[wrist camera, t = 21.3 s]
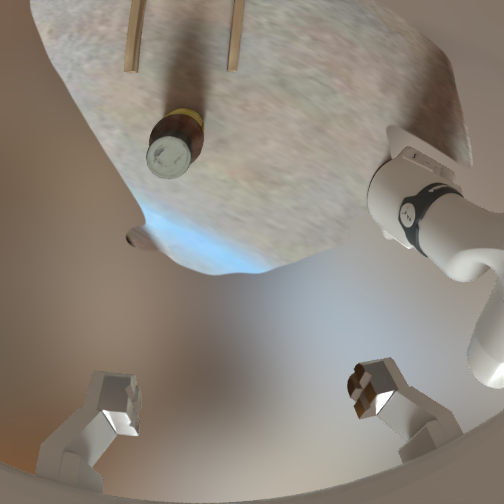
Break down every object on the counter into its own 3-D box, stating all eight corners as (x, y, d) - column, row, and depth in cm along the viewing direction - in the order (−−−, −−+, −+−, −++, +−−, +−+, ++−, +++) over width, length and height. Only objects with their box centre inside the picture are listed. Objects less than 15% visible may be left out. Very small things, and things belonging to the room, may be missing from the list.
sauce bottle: (157, 116, 39) (119, 133, 22) (197, 101, 39) (187, 105, 22) (172, 155, 42) (147, 198, 25) (210, 141, 42) (211, 174, 25)
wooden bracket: (130, 73, 35) (123, 71, 32) (139, -6, 28) (134, -13, 25) (235, 72, 37) (237, 70, 34) (243, -7, 30) (246, -14, 27)
